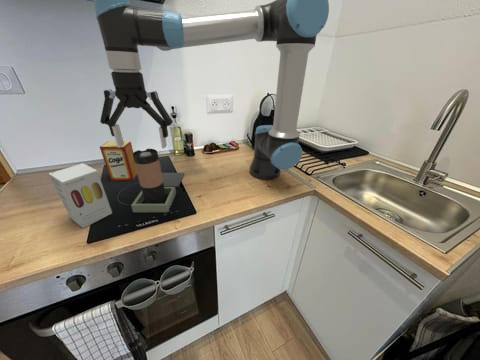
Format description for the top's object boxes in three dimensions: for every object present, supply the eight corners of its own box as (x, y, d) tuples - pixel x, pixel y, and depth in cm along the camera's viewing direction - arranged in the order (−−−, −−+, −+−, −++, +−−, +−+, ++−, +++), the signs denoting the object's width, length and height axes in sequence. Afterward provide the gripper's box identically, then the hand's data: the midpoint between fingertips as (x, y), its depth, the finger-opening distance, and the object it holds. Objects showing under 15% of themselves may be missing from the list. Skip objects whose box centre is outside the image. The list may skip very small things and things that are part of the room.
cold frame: (176, 193, 80) (175, 186, 78) (168, 212, 70) (166, 205, 68) (145, 193, 79) (144, 186, 78) (133, 212, 69) (131, 205, 67)
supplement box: (82, 229, 61) (59, 182, 53) (69, 218, 66) (45, 173, 57) (113, 212, 68) (97, 169, 60) (99, 203, 73) (82, 162, 64)
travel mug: (159, 209, 71) (148, 158, 61) (140, 206, 72) (126, 155, 62) (170, 197, 77) (162, 149, 67) (152, 195, 78) (141, 147, 68)
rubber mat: (184, 173, 94) (184, 172, 94) (178, 187, 84) (178, 186, 84) (158, 173, 94) (158, 172, 93) (149, 187, 83) (149, 186, 83)
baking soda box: (111, 180, 87) (99, 145, 79) (117, 173, 93) (107, 140, 85) (133, 180, 88) (123, 146, 80) (138, 173, 93) (130, 140, 85)
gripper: (177, 72, 57) (184, 143, 67) (86, 68, 55) (108, 141, 66) (170, 73, 50) (179, 151, 61) (67, 69, 49) (95, 149, 59)
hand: (142, 146), depth 63 cm, fingers open, 13 cm apart
